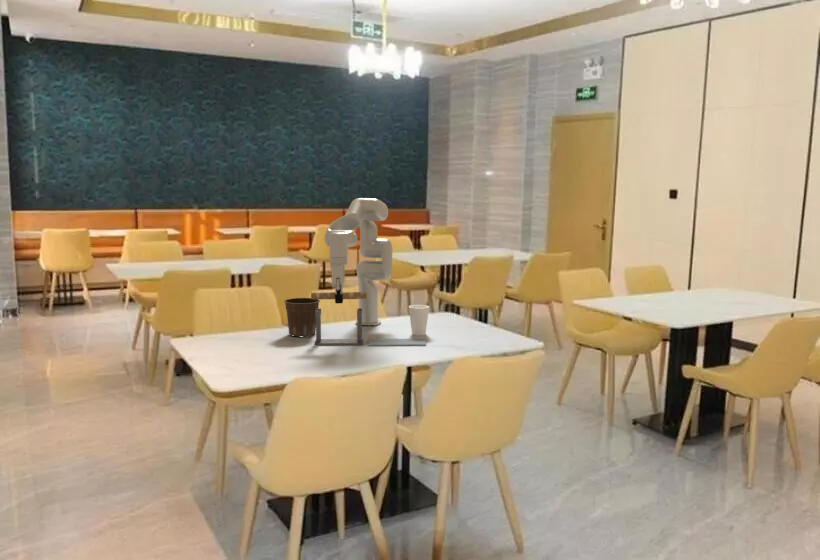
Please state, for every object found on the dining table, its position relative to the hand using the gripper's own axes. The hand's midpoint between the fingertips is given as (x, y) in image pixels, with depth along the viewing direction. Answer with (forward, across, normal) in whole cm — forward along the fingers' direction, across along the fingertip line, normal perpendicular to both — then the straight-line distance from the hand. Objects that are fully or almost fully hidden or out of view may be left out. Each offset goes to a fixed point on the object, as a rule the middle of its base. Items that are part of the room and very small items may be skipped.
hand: (339, 302), depth 312 cm
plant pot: (+19, -17, -18) cm, 31 cm away
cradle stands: (+18, +1, 0) cm, 18 cm away
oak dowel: (-1, 0, 0) cm, 1 cm away
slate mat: (+19, +1, +25) cm, 31 cm away
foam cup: (+19, -17, +36) cm, 44 cm away
